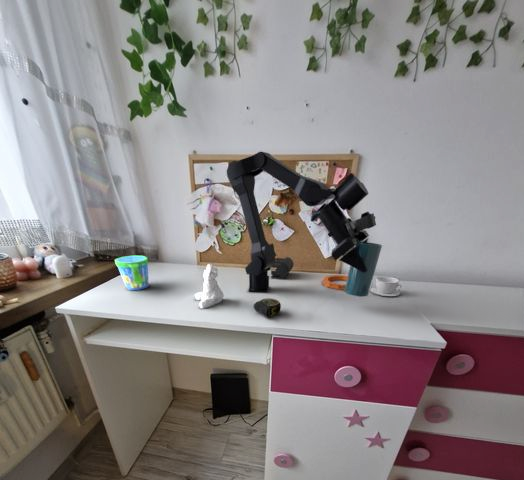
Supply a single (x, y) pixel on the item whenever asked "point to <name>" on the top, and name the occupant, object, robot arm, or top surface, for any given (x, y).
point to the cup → (361, 281)
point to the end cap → (281, 267)
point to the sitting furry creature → (210, 289)
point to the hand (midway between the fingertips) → (368, 268)
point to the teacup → (386, 286)
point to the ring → (334, 285)
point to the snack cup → (133, 271)
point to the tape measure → (268, 307)
